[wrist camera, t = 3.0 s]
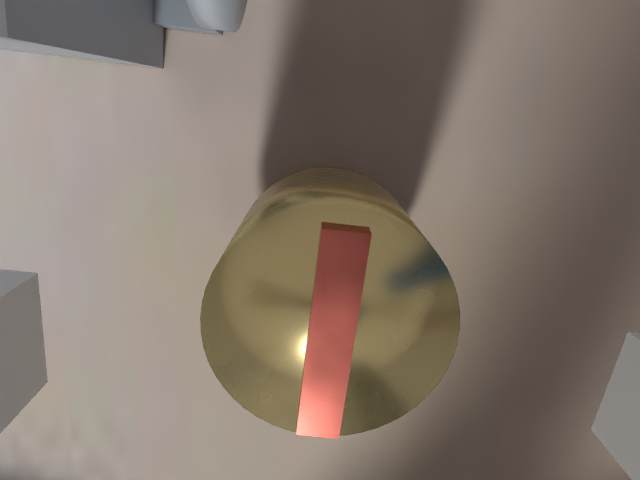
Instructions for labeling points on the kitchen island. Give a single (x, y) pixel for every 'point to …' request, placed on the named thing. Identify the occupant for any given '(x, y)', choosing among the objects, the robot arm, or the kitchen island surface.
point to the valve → (329, 307)
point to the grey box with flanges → (110, 26)
